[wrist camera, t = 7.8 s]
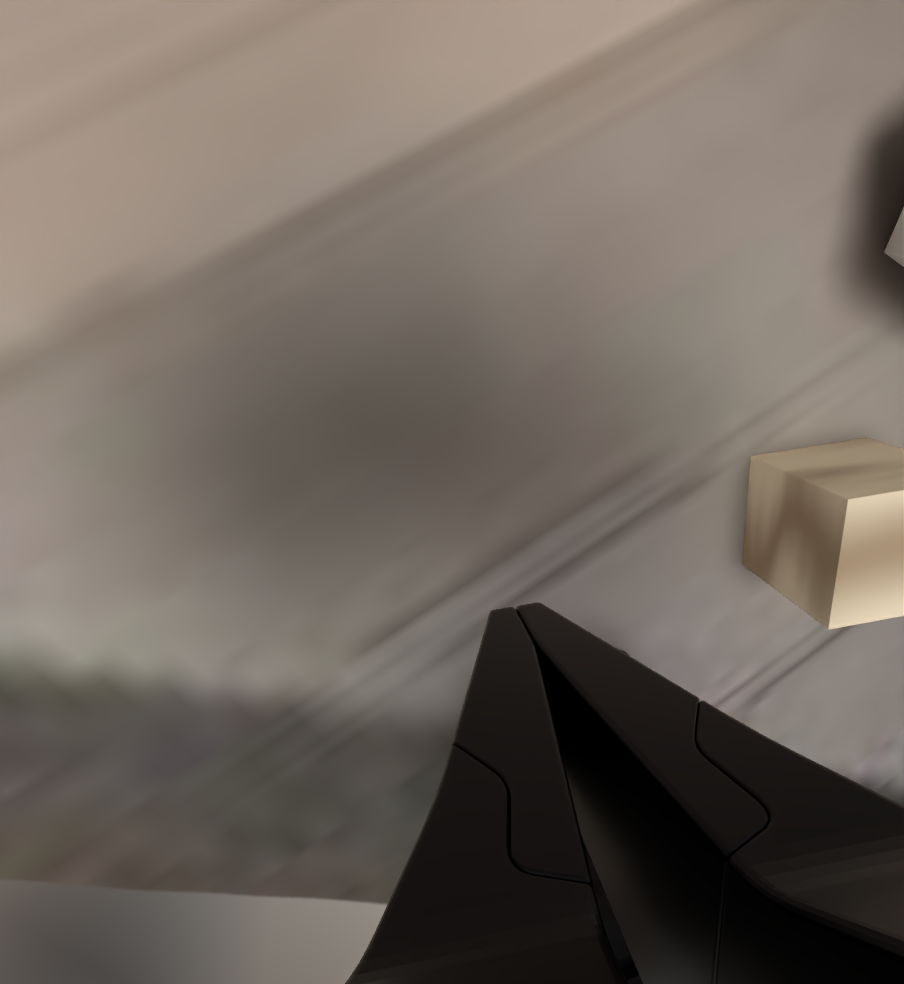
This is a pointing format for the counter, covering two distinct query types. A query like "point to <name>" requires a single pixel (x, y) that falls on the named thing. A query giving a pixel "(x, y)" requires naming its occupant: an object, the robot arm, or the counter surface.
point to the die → (897, 242)
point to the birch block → (830, 529)
